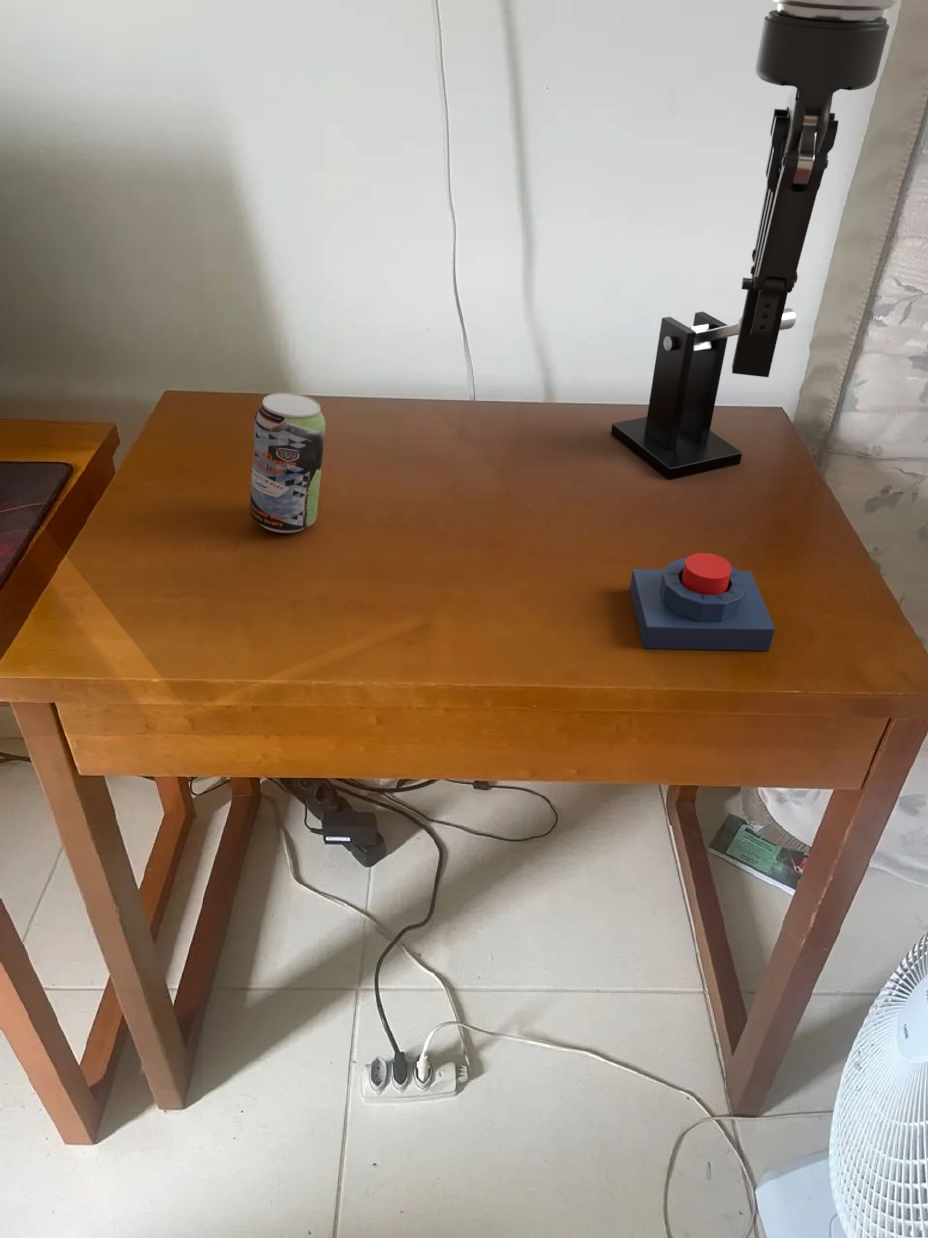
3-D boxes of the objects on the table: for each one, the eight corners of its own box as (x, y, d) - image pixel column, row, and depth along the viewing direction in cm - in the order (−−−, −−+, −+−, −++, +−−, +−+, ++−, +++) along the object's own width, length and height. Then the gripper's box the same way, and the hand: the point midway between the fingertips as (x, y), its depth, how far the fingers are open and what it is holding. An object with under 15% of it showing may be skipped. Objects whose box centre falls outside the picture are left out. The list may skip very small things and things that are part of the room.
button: (722, 571, 80) (726, 553, 79) (731, 597, 77) (736, 578, 76) (677, 570, 80) (681, 552, 79) (686, 596, 77) (689, 577, 76)
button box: (746, 592, 84) (755, 553, 81) (769, 651, 77) (780, 610, 75) (629, 589, 84) (635, 550, 81) (643, 649, 77) (650, 608, 75)
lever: (797, 330, 88) (794, 302, 87) (752, 338, 86) (749, 309, 85) (706, 350, 100) (703, 326, 99) (665, 357, 98) (661, 332, 98)
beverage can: (240, 519, 91) (224, 398, 84) (309, 496, 95) (300, 379, 87) (272, 550, 87) (259, 425, 80) (343, 524, 91) (337, 404, 83)
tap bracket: (740, 463, 102) (768, 335, 94) (668, 480, 99) (691, 348, 91) (678, 420, 110) (700, 298, 102) (610, 434, 107) (626, 309, 99)
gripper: (763, -4, 66) (702, 335, 81) (769, 18, 56) (697, 401, 71) (879, 2, 65) (796, 345, 80) (906, 26, 55) (805, 413, 69)
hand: (750, 371), depth 75 cm, fingers closed
